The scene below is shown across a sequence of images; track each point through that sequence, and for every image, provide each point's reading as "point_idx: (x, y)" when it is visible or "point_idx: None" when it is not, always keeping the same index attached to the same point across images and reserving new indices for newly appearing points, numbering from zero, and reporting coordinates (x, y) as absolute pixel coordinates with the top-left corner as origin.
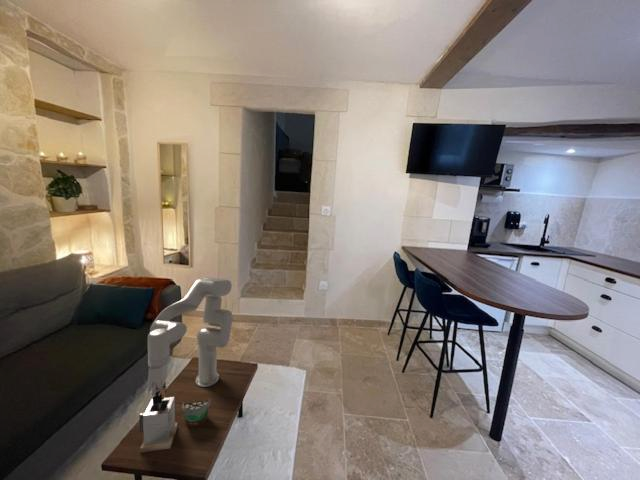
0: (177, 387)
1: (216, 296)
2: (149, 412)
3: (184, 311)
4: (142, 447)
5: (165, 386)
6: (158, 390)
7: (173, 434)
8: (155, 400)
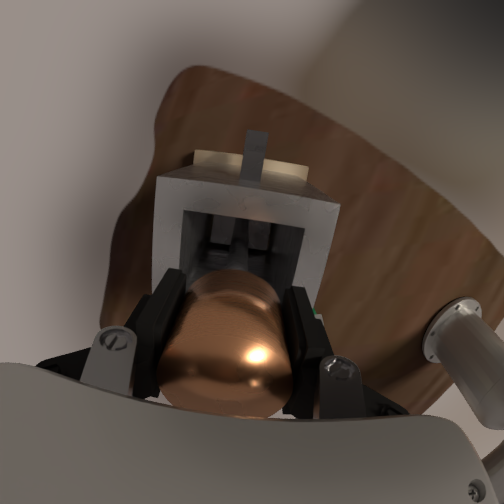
0: (469, 241)
1: None
2: (179, 215)
3: None
4: (196, 157)
5: (286, 411)
6: (206, 381)
7: None
8: (137, 315)
